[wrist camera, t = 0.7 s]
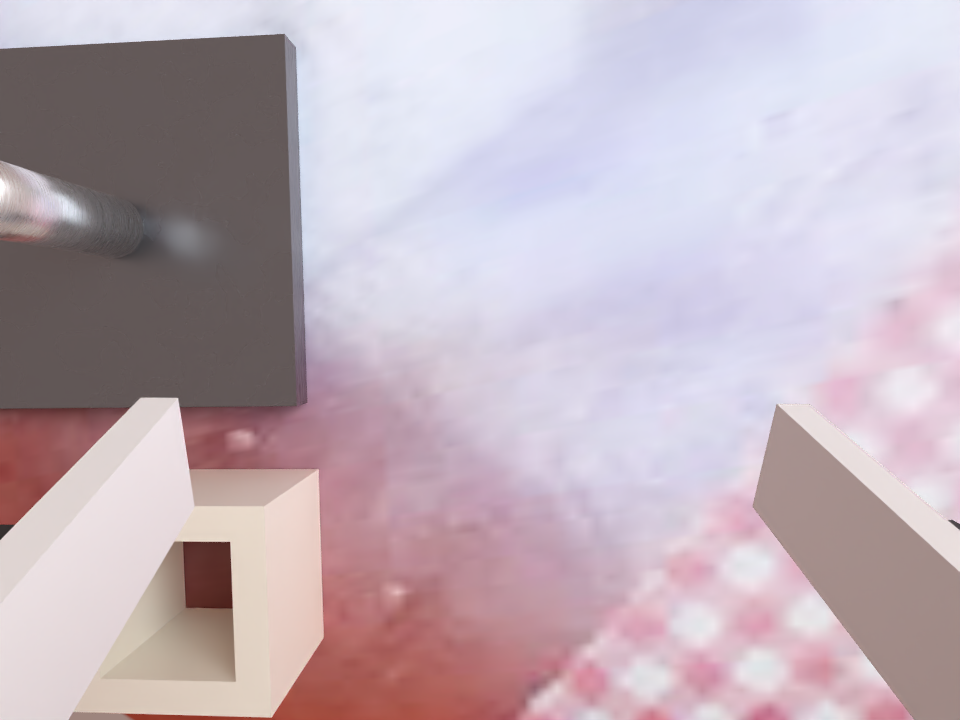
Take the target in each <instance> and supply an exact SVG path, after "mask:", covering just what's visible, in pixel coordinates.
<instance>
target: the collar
mask: <svg viewBox="0 0 960 720" xmlns="http://www.w3.org/2000/svg"><path fill="white" fill-rule="evenodd" d="M189 473H190V479H191V486H192V493H193V499H194V506H195V507H194V509H193V511H192V513H191V514H190V516H189V518H188V519H187V521H186V523H185V524H184V526H183V528H182V529H181V531H180V533H179V534H178V536H177V538H176V539H175V541H174V543H173V545H172V546H171V548H170V550H169V551H168V553H167V555H166V556H165V558H164V560H163V561H162V563H161V565H160V566H159V568H158V570H157V571H156V573H155V575H154V577H153V578H152V580H151V582H150V583H149V585H148V587H147V588H146V590H145V592H144V593H143V595H142V597H141V598H140V600H139V602H138V603H137V605H136V607H135V609H134V610H133V612H132V614H131V615H130V617H129V619H128V620H127V622H126V624H125V625H124V627H123V629H122V630H121V632H120V634H119V635H118V637H117V639H116V641H115V642H114V644H113V646H112V647H111V649H110V651H109V652H108V654H107V656H106V657H105V659H104V661H103V662H102V664H101V666H100V667H99V669H98V671H97V673H96V674H95V676H94V678H93V679H92V681H91V683H90V684H89V686H88V688H87V689H86V691H85V693H84V694H83V696H82V698H81V699H80V701H79V703H78V705H77V706H76V708H75V710H74V711H73V712H93V713H128V714H164V715H201V716H237V717H272V716H273V715H274V713H275V712H276V710H277V708H278V707H279V705H280V704H281V702H282V701H283V699H284V698H285V696H286V695H287V693H288V692H289V690H290V689H291V687H292V685H293V684H294V682H295V681H296V679H297V678H298V676H299V675H300V673H301V672H302V670H303V669H304V667H305V666H306V664H307V663H308V661H309V659H310V658H311V656H312V655H313V653H314V652H315V650H316V649H317V647H318V646H319V644H320V643H321V641H322V640H323V638H324V629H323V597H322V564H321V532H320V500H319V469H189ZM183 542H230V545H231V572H232V598H233V608H186V599H185V575H184V552H183Z"/></svg>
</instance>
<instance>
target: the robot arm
mask: <svg viewBox="0 0 960 720" xmlns="http://www.w3.org/2000/svg"><path fill="white" fill-rule="evenodd" d="M194 507H195V506H194V499H193V493H192V486H191V479H190V473H189V466H188V460H187V453H186V447H185V440H184V433H183V427H182V420H181V414H180V407H179V400H178V398H140V399H139V400H138V401H137V402H136V403H135V404H134V405H133V406H132V407H131V408H130V409H129V410H128V411H127V412H126V413H125V414H124V415H123V416H122V417H121V418H120V419H119V420H118V421H117V422H116V423H115V424H114V425H113V426H112V427H111V428H110V429H109V430H108V431H107V432H106V433H105V434H104V435H103V436H102V437H101V438H100V439H99V440H98V441H97V442H96V443H95V444H94V446H93V447H92V448H91V449H90V450H89V451H88V452H87V453H86V454H85V455H84V456H83V457H82V458H81V459H80V460H79V461H78V462H77V463H76V464H75V465H74V466H73V467H72V468H71V469H70V470H69V471H68V472H67V473H66V474H65V475H64V476H63V477H62V478H61V479H60V480H59V481H58V482H57V483H56V484H55V485H54V486H53V487H52V488H51V489H50V490H49V491H48V492H47V493H46V494H45V495H44V496H43V497H42V498H41V499H40V500H39V501H38V502H37V503H36V504H35V505H34V506H33V507H32V508H31V509H30V510H29V511H28V512H27V513H26V514H25V515H24V516H23V518H22V519H21V520H20V521H19V522H18V523H17V524H16V525H0V720H69V718H70V716H71V715H72V713H73V711H74V710H75V708H76V706H77V705H78V703H79V701H80V699H81V698H82V696H83V694H84V693H85V691H86V689H87V688H88V686H89V684H90V683H91V681H92V679H93V678H94V676H95V674H96V673H97V671H98V669H99V667H100V666H101V664H102V662H103V661H104V659H105V657H106V656H107V654H108V652H109V651H110V649H111V647H112V646H113V644H114V642H115V641H116V639H117V637H118V635H119V634H120V632H121V630H122V629H123V627H124V625H125V624H126V622H127V620H128V619H129V617H130V615H131V614H132V612H133V610H134V609H135V607H136V605H137V603H138V602H139V600H140V598H141V597H142V595H143V593H144V592H145V590H146V588H147V587H148V585H149V583H150V582H151V580H152V578H153V577H154V575H155V573H156V571H157V570H158V568H159V566H160V565H161V563H162V561H163V560H164V558H165V556H166V555H167V553H168V551H169V550H170V548H171V546H172V545H173V543H174V541H175V539H176V538H177V536H178V534H179V533H180V531H181V529H182V528H183V526H184V524H185V523H186V521H187V519H188V518H189V516H190V514H191V513H192V511H193V509H194ZM753 508H754V509H755V510H756V512H757V513H758V514H759V516H760V517H761V518H762V520H763V521H764V522H765V524H766V525H767V526H768V528H769V529H770V530H771V532H772V533H773V534H774V536H775V537H776V538H777V539H778V541H779V542H780V543H781V545H782V546H783V547H784V549H785V550H786V551H787V553H788V554H789V555H790V557H791V558H792V559H793V561H794V562H795V563H796V564H797V566H798V567H799V568H800V570H801V571H802V572H803V574H804V575H805V576H806V578H807V579H808V580H809V582H810V583H811V584H812V586H813V587H814V588H815V590H816V591H817V592H818V593H819V595H820V596H821V597H822V599H823V600H824V601H825V603H826V604H827V605H828V607H829V608H830V609H831V611H832V612H833V613H834V615H835V616H836V617H837V619H838V620H839V621H840V622H841V624H842V625H843V626H844V628H845V629H846V630H847V632H848V633H849V634H850V636H851V637H852V638H853V640H854V641H855V642H856V644H857V645H858V646H859V648H860V649H861V650H862V651H863V653H864V654H865V655H866V657H867V658H868V659H869V661H870V662H871V663H872V665H873V666H874V667H875V669H876V670H877V671H878V673H879V674H880V675H881V676H882V678H883V679H884V680H885V682H886V683H887V684H888V686H889V687H890V688H891V690H892V691H893V692H894V694H895V695H896V696H897V698H898V699H899V700H900V702H901V703H902V704H903V705H904V707H905V708H906V709H907V711H908V712H909V713H910V715H911V716H912V717H913V719H914V720H960V524H959V523H957V522H955V521H953V520H947V519H946V518H944V517H943V516H942V515H941V514H940V513H938V512H937V511H936V510H935V509H934V508H933V507H931V506H930V505H929V504H928V503H927V502H925V501H924V500H923V499H922V498H921V497H919V496H918V495H917V494H916V493H915V492H913V491H912V490H911V489H910V488H909V487H907V486H906V485H905V484H904V483H903V482H901V481H900V480H899V479H898V478H897V477H896V476H894V475H893V474H892V473H891V472H890V471H888V470H887V469H886V468H885V467H884V466H882V465H881V464H880V463H879V462H878V461H876V460H875V459H874V458H873V457H872V456H870V455H869V454H868V453H867V452H866V451H865V450H863V449H862V448H861V447H860V446H859V445H857V444H856V443H855V442H854V441H853V440H851V439H850V438H849V437H848V436H847V435H845V434H844V433H843V432H842V431H841V430H839V429H838V428H837V427H836V426H835V425H833V424H832V423H831V422H830V421H829V420H828V419H826V418H825V417H824V416H823V415H822V414H820V413H819V412H818V411H817V410H816V409H814V408H813V407H812V406H811V405H810V404H777V405H776V409H775V413H774V417H773V422H772V426H771V430H770V434H769V439H768V443H767V447H766V451H765V456H764V460H763V464H762V468H761V473H760V477H759V481H758V485H757V490H756V494H755V498H754V502H753Z"/></svg>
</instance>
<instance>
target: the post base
mask: <svg viewBox="0 0 960 720" xmlns="http://www.w3.org/2000/svg"><path fill="white" fill-rule="evenodd" d="M140 398H178V400H179V407H233V406H298V405H301V404H304V403H307V386H306V355H305V324H304V292H303V261H302V229H301V198H300V166H299V135H298V104H297V72H296V47H295V46H294V45H293V44H292V42H291V41H290V40H289V39H288V38H287V36H286V35H285V34H277V35H258V36H239V37H220V38H200V39H181V40H162V41H143V42H124V43H105V44H86V45H67V46H48V47H29V48H10V49H0V409H10V408H122V407H132V406H133V405H134V404H135V403H136V402H137V401H138V400H139V399H140Z"/></svg>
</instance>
